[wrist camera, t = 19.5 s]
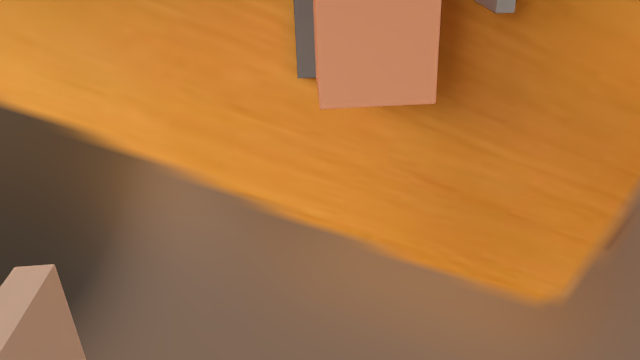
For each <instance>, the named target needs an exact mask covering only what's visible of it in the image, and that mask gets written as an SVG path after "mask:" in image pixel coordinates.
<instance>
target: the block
mask: <svg viewBox="0 0 640 360" xmlns="http://www.w3.org/2000/svg"><path fill="white" fill-rule="evenodd" d="M313 16H314V40H315V64H316V80H317V89H318V97H319V105H320V109H336V108H356V107H376V106H397V105H417V104H436V87H437V70H438V52H439V34H440V17H441V0H313Z"/></svg>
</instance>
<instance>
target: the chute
mask: <svg viewBox="0 0 640 360" xmlns="http://www.w3.org/2000/svg"><path fill="white" fill-rule="evenodd" d="M475 2H477V3H479V4H480V5H482V6H484V7H486V8H487V9H489V10H491V11H493V12H494V13H515V4H516V0H475Z"/></svg>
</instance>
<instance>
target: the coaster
mask: <svg viewBox="0 0 640 360" xmlns="http://www.w3.org/2000/svg"><path fill="white" fill-rule="evenodd" d="M294 15H295V34H296V53H297V72H298V78H316V64H315V40H314V16H313V0H294Z"/></svg>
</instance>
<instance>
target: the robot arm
mask: <svg viewBox="0 0 640 360" xmlns="http://www.w3.org/2000/svg"><path fill="white" fill-rule="evenodd" d="M0 360H86V359H85V355H84V352H83V349H82V347H81V343H80V340H79V337H78V334H77V331H76V328H75V325H74V322H73V319H72V316H71V313H70V310H69V307H68V304H67V301H66V298H65V295H64V292H63V289H62V286H61V283H60V280H59V277H58V274H57V271H56V268H55V265H54V264H53V265H39V266H25V267H15V268H14V269H13V270H12V272H11V273H10V274H9V276H8V277H7V279H6V280H5V281H4V283H3V284H2V286H1V287H0Z"/></svg>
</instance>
